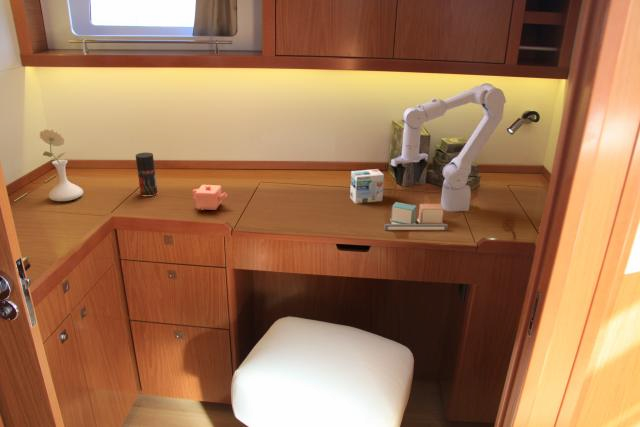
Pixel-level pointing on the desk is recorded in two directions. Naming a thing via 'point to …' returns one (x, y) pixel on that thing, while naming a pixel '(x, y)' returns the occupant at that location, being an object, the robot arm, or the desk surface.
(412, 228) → the shelf board
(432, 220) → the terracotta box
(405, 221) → the teal box
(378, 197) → the light bulb box
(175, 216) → the desk surface
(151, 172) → the deodorant
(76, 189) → the flower in vase
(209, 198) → the pink cube teapot
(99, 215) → the desk surface
